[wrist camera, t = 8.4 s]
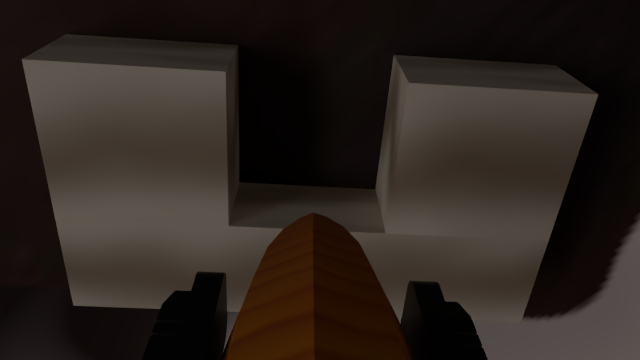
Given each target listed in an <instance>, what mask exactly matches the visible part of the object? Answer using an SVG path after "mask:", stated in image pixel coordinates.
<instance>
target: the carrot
mask: <svg viewBox="0 0 640 360" xmlns="http://www.w3.org/2000/svg"><path fill="white" fill-rule="evenodd" d="M220 360H416V358H415V356H414V353H413V351H412V349H411V347H410V345H409V342H408V340H407V338H406V336H405V334H404V331H403V329H402V327H401V325H400V323H399V320H398V318H397V316H396V314H395V312H394V310H393V308H392V306H391V304H390V302H389V300H388V298H387V296H386V294H385V292H384V290H383V288H382V286H381V284H380V282H379V280H378V278H377V276H376V274H375V272H374V270H373V268H372V266H371V264H370V262H369V260H368V259H367V257H366V255H365V253H364V251H363V249H362V247H361V245H360V243H359V242H358V241H357V240H356V239H355V238H354V237H353V236H352V235H351V234H350V233H349V232H348V231H347V230H346V228H345V227H343V226H342V225H340V224H338V223H337V222H335V221H333V220H332V219H330V218H328V217H326V216H323V215H320V214H317V213H311V214H308V215H306V216H303V217H301V218H299V219H298V220H296V221H295V222H293V223H292V224H290V225H289V226H287V227H285V228H284V229H283V230H282V231H281V232H280V233H279V234H278V235H277V237H276V238H275V239H274V240H273V241H272V242H271V243H270V244H269V246H268V247H267V249H266V251H265V253H264V256H263V258H262V260H261V262H260V264H259V266H258V268H257V270H256V272H255V274H254V277H253V279H252V282H251V284H250V287H249V289H248V292H247V294H246V297H245V299H244V302H243V304H242V307H241V309H240V312H239V314H238V317H237V319H236V322H235V324H234V327H233V329H232V332H231V334H230V337H229V339H228V342H227V344H226V347H225V349H224V352H223V354H222V357H221V359H220Z"/></svg>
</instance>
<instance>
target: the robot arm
mask: <svg viewBox="0 0 640 360" xmlns="http://www.w3.org/2000/svg"><path fill="white" fill-rule="evenodd" d="M400 325H401V327H402V329H403V331H404V334H405V336H406V338H407V340H408V342H409V345H410V347H411V349H412V351H413V353H414V356H415V358H416V360H487V357H486V354H485V352H484V349H483V348H482V344H481V342H480V339H479V337H478V335H477V332H476V329H475V326H474V324H473V321H472V318H471V316H470V315H469V314H468V313H467V312H466V311H465V309H464V308H463V307H462V306H461V305H460V304H459V303H458V302H448V301H445V299H444V296H443V293H442V291H441V288H440V285H439V283H438V282H432V281H409V283H408V287H407V292H406V297H405V302H404V307H403V313H402V318H401V324H400ZM226 330H227V283H226V273H225V272H200V271H198V272H197V273H196V276H195V280H194V283H193V286H192V290H191V291H180V290H175V291H174V292H173V293H172V294H171V295H170V296H169V297H168V298H167V299H166V300H165V301H164V302H163V303H162V306H161V308H160V311H159V314H158V317H157V320H156V323H155V325H154V328H153V331H152V335H151V336H150V339H149V342H148V345H147V347H146V350H145V353H144V355H143V358H142V360H220V359H221V357H222V354H223V350H224V344H225V339H226Z"/></svg>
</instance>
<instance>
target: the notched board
mask: <svg viewBox="0 0 640 360" xmlns="http://www.w3.org/2000/svg"><path fill="white" fill-rule="evenodd" d="M22 62H23V67H24V71H25V76H26V81H27V86H28V91H29V95H30V100H31V105H32V110H33V114H34V119H35V124H36V129H37V133H38V138H39V143H40V148H41V153H42V157H43V162H44V167H45V172H46V176H47V181H48V186H49V191H50V196H51V200H52V205H53V210H54V215H55V219H56V224H57V229H58V234H59V238H60V243H61V248H62V253H63V258H64V262H65V267H66V272H67V277H68V281H69V286H70V291H71V296H72V300H73V305H77V306H102V307H103V306H104V307H128V308H154V309H160V308H161V306H162V303H163V302H164V301H165V300H166V299H167V298H168V297H169V296H170V295H171V294H172V293H173V292H174V291H175V290H180V291H191V290H192V286H193V283H194V280H195V276H196V273H197V272H198V271H200V272H225V273H226V283H227V311H232V312H233V311H234V312H240V309H241V307H242V304H243V302H244V299H245V297H246V294H247V292H248V289H249V287H250V284H251V282H252V279H253V277H254V274H255V272H256V270H257V268H258V266H259V264H260V262H261V260H262V258H263V256H264V253H265V251H266V249H267V247H268V246H269V244H270V243H271V242H272V241H273V240H274V239H275V238H276V237H277V235H278V234H279V233H280V232H281V231H282V230H283V229H284V228H285V227H287V226H289V225H290V224H292V223H293V222H295V221H296V220H298V219H299V218H301V217H303V216H306V215H308V214H311V213H317V214H320V215H323V216H326V217H328V218H330V219H332V220H333V221H335V222H337V223H338V224H340V225H342V226H343V227H345V228H346V230H347V231H348V232H349V233H350V234H351V235H352V236H353V237H354V238H355V239H356V240H357V241H358V242H359V243H360V245H361V247H362V249H363V251H364V253H365V255H366V257H367V259H368V260H369V262H370V264H371V266H372V268H373V270H374V272H375V274H376V276H377V278H378V280H379V282H380V284H381V286H382V288H383V290H384V292H385V294H386V296H387V298H388V300H389V302H390V304H391V306H392V308H393V310H394V312H395V314H396V316H397V318H402V313H403V307H404V302H405V297H406V292H407V287H408V283H409V281H432V282H438V283H439V285H440V288H441V291H442V293H443V296H444V299H445V301H448V302H458V303H459V304H460V305H461V306H462V307H463V308H464V309H465V311H466V312H467V313H468V314H469V315H470V316H471V318H472V321H495V322H519V323H520V322H521V320H522V317H523V314H524V311H525V308H526V305H527V302H528V299H529V297H530V294H531V291H532V288H533V285H534V282H535V279H536V276H537V273H538V270H539V267H540V264H541V261H542V258H543V255H544V253H545V250H546V247H547V244H548V241H549V238H550V235H551V232H552V229H553V226H554V223H555V220H556V217H557V214H558V211H559V209H560V206H561V203H562V200H563V197H564V194H565V191H566V188H567V185H568V182H569V179H570V176H571V173H572V170H573V167H574V164H575V162H576V159H577V156H578V153H579V150H580V147H581V144H582V141H583V138H584V135H585V132H586V129H587V126H588V123H589V120H590V118H591V115H592V112H593V109H594V106H595V103H596V100H597V97H598V94H597V93H596V92H594V91H593V90H591V89H590V88H588V87H587V86H585V85H584V84H582V83H581V82H579V81H578V80H576V79H575V78H574V77H572V76H571V75H569V74H568V73H566V72H565V71H563V70H562V69H560V68H559V67H557V66H556V65H543V64H527V63H512V62H496V61H480V60H464V59H449V58H433V57H417V56H401V55H394V58H393V65H392V73H391V80H390V87H389V94H388V102H387V109H386V116H385V123H384V131H383V138H382V145H381V152H380V160H379V167H378V174H377V181H376V189H360V188H340V187H320V186H301V185H281V184H261V183H241V182H239V70H238V45H228V44H212V43H197V42H181V41H165V40H149V39H134V38H118V37H102V36H86V35H71V34H66V35H64V36H62V37H61V38H59V39H57V40H55V41H53V42H52V43H50V44H48V45H46V46H45V47H43V48H41V49H39V50H38V51H36V52H34V53H32V54H31V55H29V56H27V57H25V58H23V59H22Z"/></svg>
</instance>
